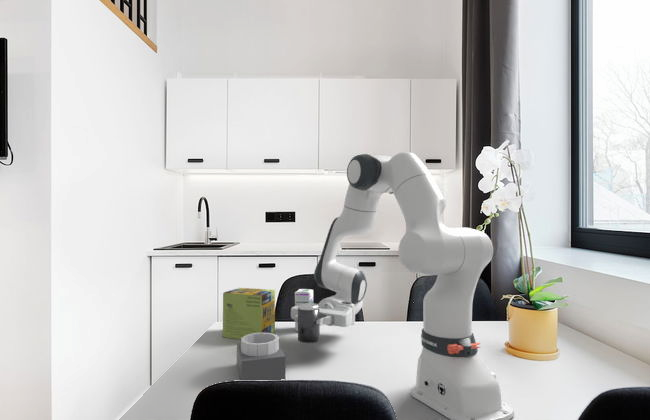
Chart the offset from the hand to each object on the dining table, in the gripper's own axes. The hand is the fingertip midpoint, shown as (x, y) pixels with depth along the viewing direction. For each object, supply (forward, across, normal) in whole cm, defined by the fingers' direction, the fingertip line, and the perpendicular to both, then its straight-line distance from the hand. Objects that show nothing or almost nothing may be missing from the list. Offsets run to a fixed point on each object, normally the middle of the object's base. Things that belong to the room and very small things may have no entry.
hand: (306, 320), depth 111 cm
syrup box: (-23, -17, +11) cm, 31 cm away
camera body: (+14, -6, +11) cm, 19 cm away
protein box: (-8, -30, +11) cm, 33 cm away
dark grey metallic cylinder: (-1, 0, +6) cm, 6 cm away
